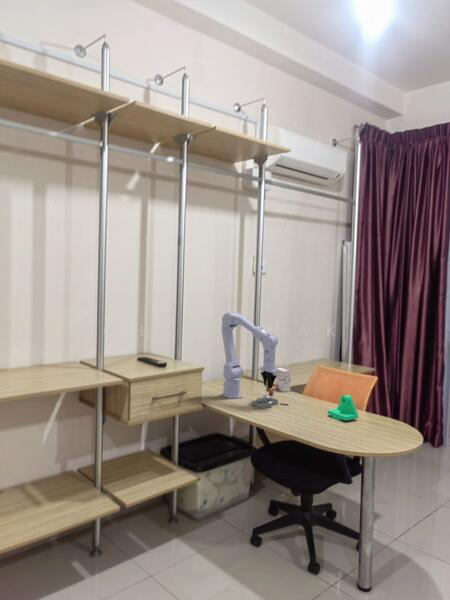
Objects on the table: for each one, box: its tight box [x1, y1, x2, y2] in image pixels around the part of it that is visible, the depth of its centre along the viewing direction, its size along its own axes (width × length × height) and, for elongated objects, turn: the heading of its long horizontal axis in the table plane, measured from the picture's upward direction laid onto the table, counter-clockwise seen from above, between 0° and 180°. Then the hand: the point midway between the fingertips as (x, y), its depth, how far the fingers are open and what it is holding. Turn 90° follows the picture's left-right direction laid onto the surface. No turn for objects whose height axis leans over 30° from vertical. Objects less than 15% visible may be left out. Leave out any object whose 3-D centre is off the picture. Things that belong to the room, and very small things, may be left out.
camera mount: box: [327, 394, 359, 421], centre depth 220 cm, size 12×8×10 cm, turn 30°
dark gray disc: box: [255, 397, 279, 406], centre depth 244 cm, size 11×11×1 cm
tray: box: [251, 399, 273, 409], centre depth 237 cm, size 7×7×2 cm
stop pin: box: [265, 379, 273, 393], centre depth 240 cm, size 3×3×6 cm
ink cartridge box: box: [275, 362, 292, 393], centre depth 271 cm, size 9×5×15 cm, turn 22°
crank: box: [262, 387, 275, 401], centre depth 246 cm, size 10×4×4 cm, turn 158°
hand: (268, 387), depth 239 cm, fingers closed on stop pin, 3 cm apart
